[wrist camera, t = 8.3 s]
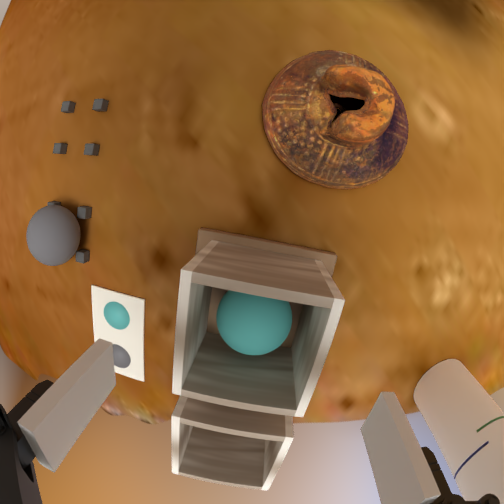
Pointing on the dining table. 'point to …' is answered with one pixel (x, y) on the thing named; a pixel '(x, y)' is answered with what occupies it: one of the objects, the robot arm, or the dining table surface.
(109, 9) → the dining table surface
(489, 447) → the cylindrical container
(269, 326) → the ball teal
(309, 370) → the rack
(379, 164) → the brown patterned pot lid
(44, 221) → the ball charcoal
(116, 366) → the dot card
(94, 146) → the small grey cubes
